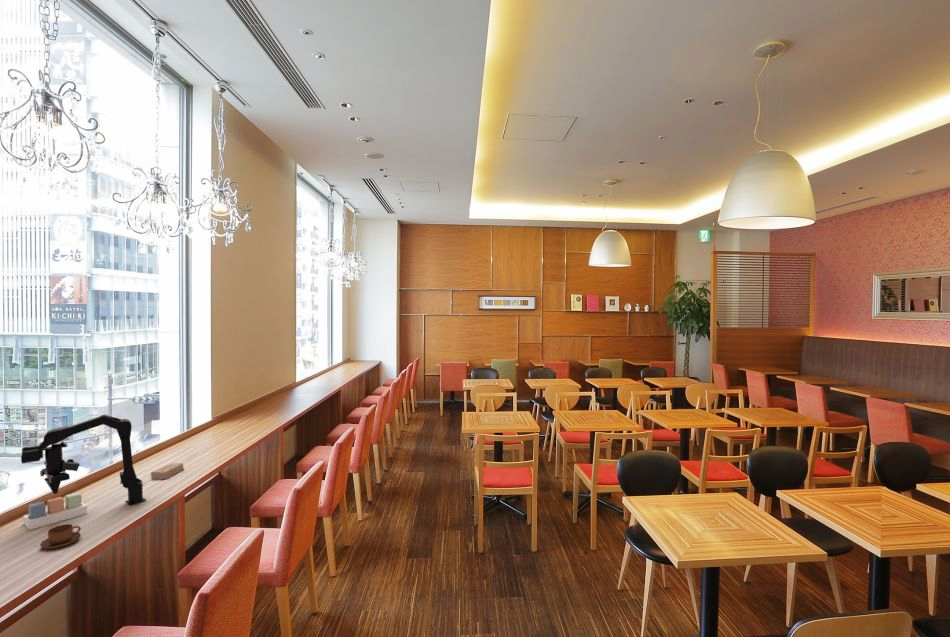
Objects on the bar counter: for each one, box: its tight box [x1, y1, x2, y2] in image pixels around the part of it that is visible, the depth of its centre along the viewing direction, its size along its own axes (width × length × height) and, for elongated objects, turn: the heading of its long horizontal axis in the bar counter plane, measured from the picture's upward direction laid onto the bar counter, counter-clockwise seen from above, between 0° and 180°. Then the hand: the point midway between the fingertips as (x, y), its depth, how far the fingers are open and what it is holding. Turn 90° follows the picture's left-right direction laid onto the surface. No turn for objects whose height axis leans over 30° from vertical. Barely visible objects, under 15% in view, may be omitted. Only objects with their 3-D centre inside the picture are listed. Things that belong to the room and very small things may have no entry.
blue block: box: [27, 501, 46, 520], centre depth 206 cm, size 5×5×6 cm
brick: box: [150, 462, 184, 480], centre depth 266 cm, size 17×8×5 cm, turn 0°
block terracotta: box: [46, 496, 65, 514], centre depth 211 cm, size 5×5×6 cm
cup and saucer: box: [39, 523, 82, 550], centre depth 187 cm, size 12×12×6 cm
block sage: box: [64, 491, 83, 509], centre depth 216 cm, size 5×5×6 cm
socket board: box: [23, 502, 88, 530], centre depth 211 cm, size 10×19×4 cm, turn 144°
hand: (55, 493), depth 211 cm, fingers closed
